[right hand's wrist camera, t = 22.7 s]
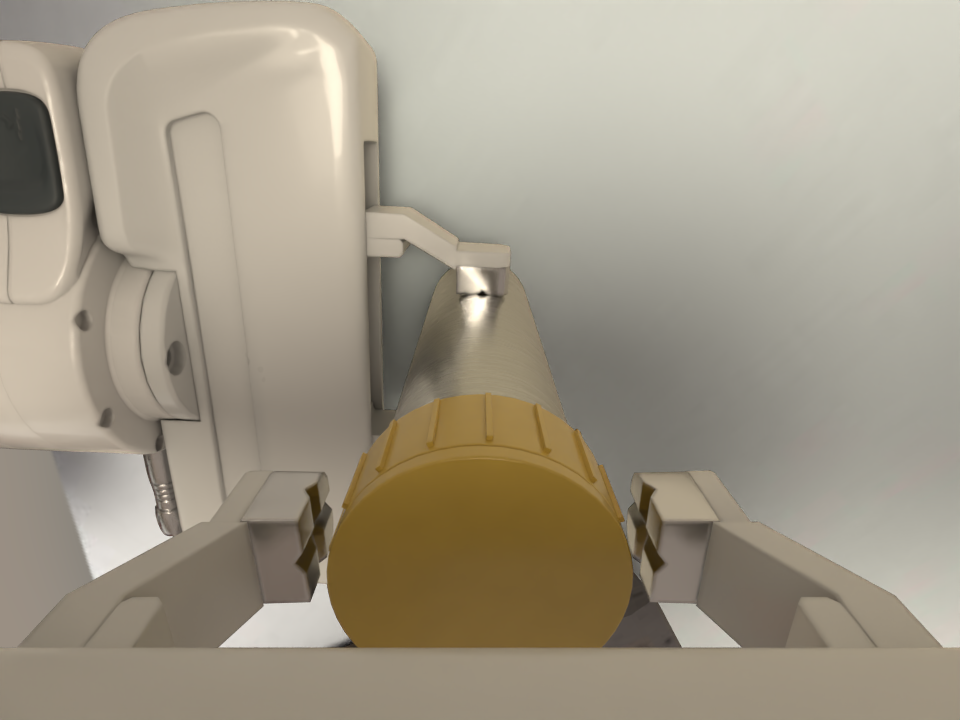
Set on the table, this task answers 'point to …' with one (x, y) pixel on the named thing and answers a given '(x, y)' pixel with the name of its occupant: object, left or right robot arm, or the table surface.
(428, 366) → the thermos bottle
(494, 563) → the lid
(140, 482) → the table surface
